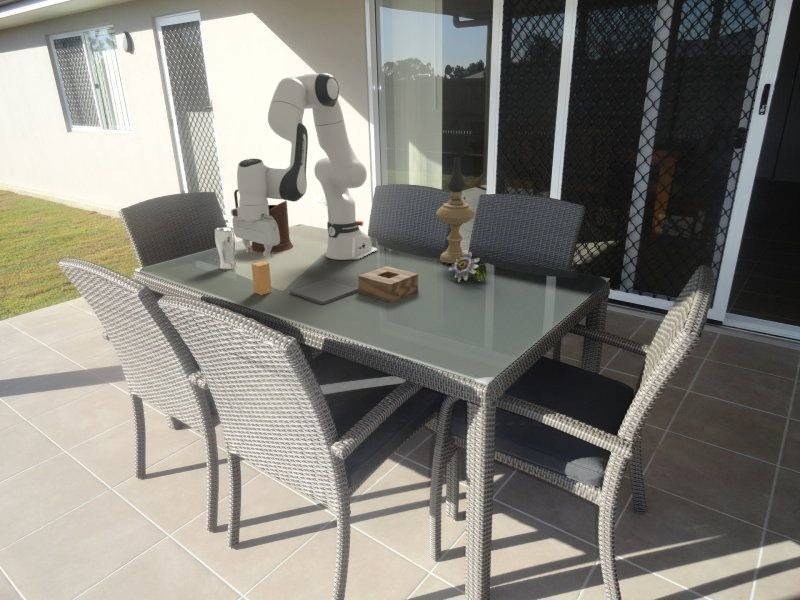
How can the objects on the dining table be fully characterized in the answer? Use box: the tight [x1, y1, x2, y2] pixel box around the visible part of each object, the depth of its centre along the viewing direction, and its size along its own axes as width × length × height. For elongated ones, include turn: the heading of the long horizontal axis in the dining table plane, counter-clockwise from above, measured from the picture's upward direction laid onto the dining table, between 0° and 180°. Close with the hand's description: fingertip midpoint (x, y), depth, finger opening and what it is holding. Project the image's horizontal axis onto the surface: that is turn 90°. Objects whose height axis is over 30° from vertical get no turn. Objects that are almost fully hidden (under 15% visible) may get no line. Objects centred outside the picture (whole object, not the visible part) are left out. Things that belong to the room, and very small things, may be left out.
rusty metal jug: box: [233, 188, 294, 254], centre depth 229 cm, size 18×24×25 cm
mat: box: [289, 278, 359, 306], centre depth 178 cm, size 16×16×1 cm
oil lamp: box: [435, 156, 476, 263], centre depth 205 cm, size 15×15×40 cm
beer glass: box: [214, 226, 237, 271], centre depth 203 cm, size 7×7×15 cm
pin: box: [251, 261, 272, 296], centre depth 177 cm, size 4×4×10 cm
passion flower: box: [447, 251, 488, 282], centre depth 189 cm, size 11×11×12 cm
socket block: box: [357, 265, 419, 303], centre depth 177 cm, size 14×14×6 cm
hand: (258, 254), depth 174 cm, fingers open, 8 cm apart
